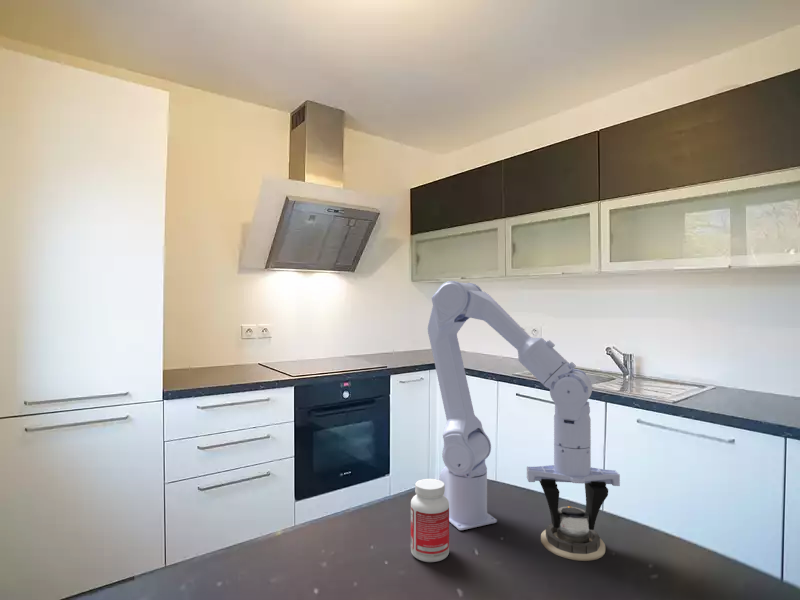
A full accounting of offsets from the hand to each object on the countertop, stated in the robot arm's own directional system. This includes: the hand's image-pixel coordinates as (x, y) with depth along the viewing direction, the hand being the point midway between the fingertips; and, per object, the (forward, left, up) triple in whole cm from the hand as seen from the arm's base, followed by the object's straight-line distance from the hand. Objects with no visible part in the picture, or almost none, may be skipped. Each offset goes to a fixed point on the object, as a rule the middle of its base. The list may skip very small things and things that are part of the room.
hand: (572, 526), depth 76 cm
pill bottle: (-7, -23, -3) cm, 24 cm away
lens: (0, 0, -2) cm, 2 cm away
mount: (0, 0, -3) cm, 3 cm away
